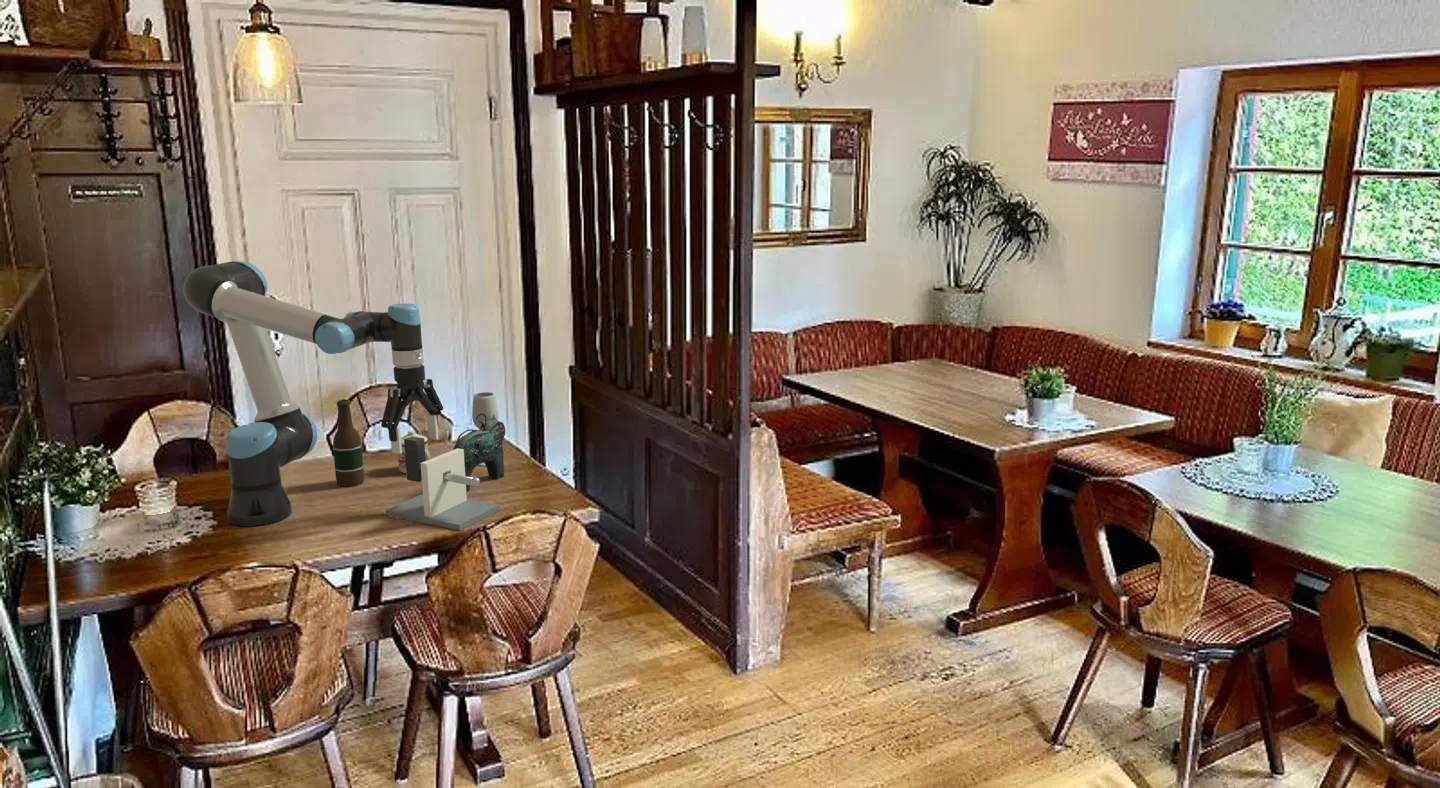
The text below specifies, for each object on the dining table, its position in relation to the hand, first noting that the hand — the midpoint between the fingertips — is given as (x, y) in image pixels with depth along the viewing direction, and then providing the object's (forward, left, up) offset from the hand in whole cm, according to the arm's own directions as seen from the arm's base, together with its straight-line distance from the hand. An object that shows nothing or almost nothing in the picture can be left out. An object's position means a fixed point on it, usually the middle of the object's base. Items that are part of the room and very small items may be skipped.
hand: (415, 445), depth 261 cm
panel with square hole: (0, -9, -17) cm, 19 cm away
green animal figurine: (+23, -2, -17) cm, 29 cm away
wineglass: (+40, +9, -17) cm, 45 cm away
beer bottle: (+8, +32, -17) cm, 37 cm away
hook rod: (0, -9, -9) cm, 13 cm away
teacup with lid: (+25, +23, -17) cm, 38 cm away
